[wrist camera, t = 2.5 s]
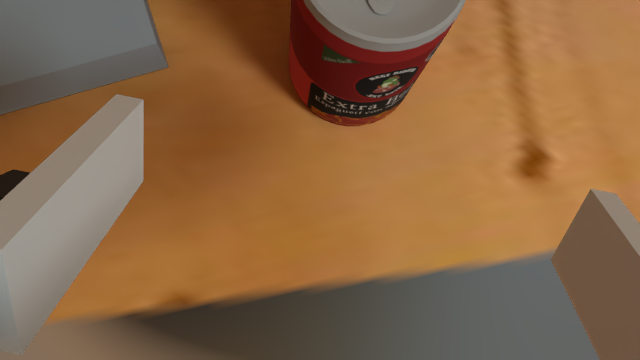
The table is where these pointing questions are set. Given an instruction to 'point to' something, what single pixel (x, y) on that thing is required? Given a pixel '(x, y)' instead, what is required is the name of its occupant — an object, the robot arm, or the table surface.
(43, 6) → the stand
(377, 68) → the canned food
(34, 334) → the robot arm
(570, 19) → the table surface
